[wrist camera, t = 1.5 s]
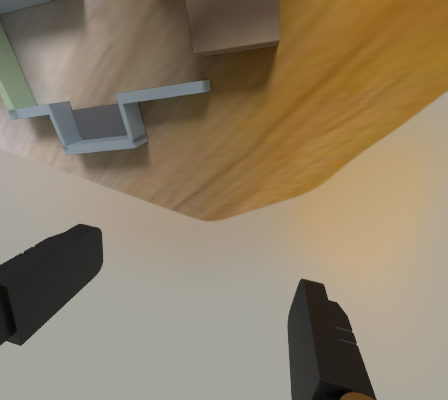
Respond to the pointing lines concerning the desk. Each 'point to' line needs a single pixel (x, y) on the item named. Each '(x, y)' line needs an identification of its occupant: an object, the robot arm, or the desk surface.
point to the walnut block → (232, 25)
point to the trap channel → (83, 118)
